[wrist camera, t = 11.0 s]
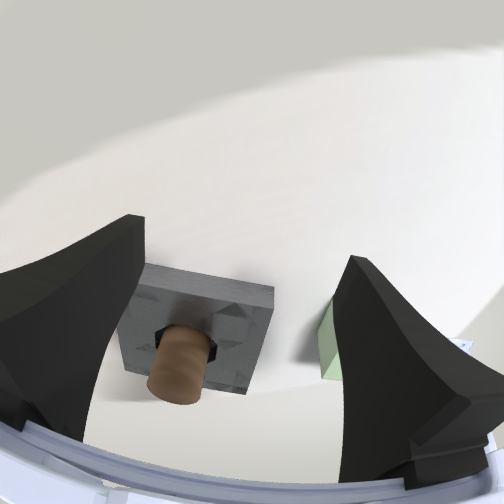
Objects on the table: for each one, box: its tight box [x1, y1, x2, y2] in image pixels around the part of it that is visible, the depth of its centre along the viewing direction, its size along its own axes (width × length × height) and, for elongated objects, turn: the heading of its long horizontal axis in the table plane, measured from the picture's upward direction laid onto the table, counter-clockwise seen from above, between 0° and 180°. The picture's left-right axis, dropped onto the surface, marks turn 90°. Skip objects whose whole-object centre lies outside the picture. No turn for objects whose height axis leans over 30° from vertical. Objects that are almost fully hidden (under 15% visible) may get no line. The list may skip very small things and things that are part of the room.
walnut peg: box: [147, 324, 212, 405], centre depth 24 cm, size 4×4×7 cm
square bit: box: [317, 300, 343, 381], centre depth 24 cm, size 4×4×5 cm
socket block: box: [117, 263, 274, 395], centre depth 26 cm, size 12×12×2 cm
